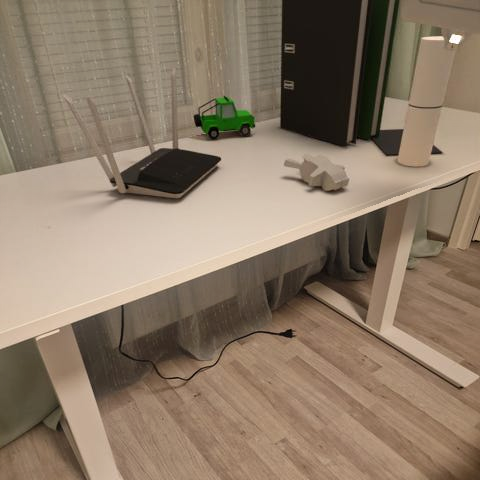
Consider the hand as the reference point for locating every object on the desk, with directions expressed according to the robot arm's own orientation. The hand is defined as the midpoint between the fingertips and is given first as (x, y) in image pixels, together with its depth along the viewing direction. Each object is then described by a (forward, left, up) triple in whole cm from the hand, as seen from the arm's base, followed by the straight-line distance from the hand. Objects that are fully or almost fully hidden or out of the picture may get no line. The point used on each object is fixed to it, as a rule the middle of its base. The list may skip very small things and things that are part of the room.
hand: (452, 47), depth 78 cm
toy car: (+44, -42, -25) cm, 65 cm away
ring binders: (+14, -40, -25) cm, 48 cm away
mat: (-4, -29, -25) cm, 38 cm away
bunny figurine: (+23, -2, -25) cm, 34 cm away
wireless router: (+59, -8, -25) cm, 64 cm away
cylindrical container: (-2, -13, -25) cm, 28 cm away
